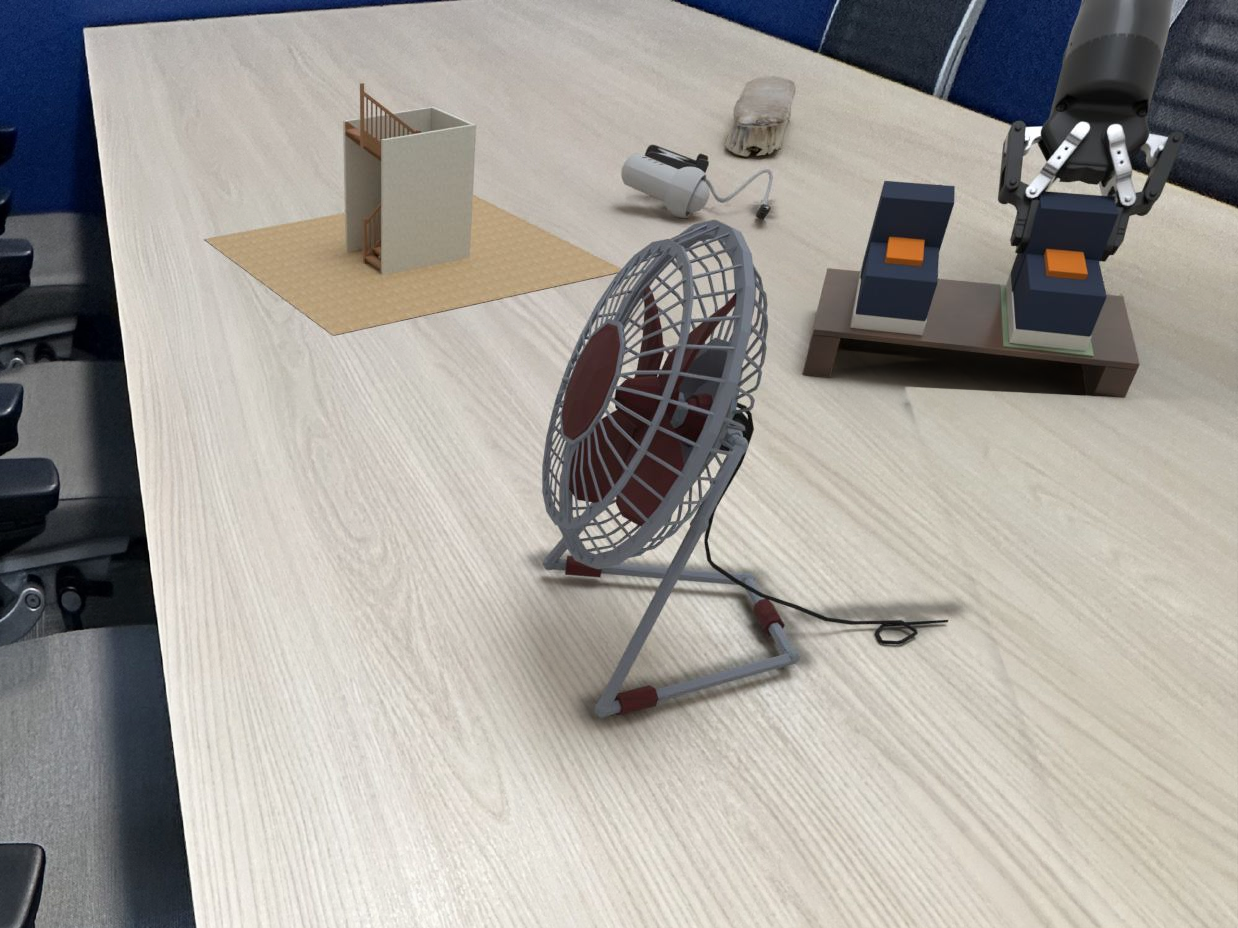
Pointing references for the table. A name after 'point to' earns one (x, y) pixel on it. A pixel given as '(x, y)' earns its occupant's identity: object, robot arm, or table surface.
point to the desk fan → (662, 442)
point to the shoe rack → (976, 331)
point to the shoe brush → (761, 115)
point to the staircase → (406, 232)
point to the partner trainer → (902, 258)
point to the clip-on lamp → (679, 180)
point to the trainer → (1061, 272)
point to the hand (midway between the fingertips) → (1063, 252)
